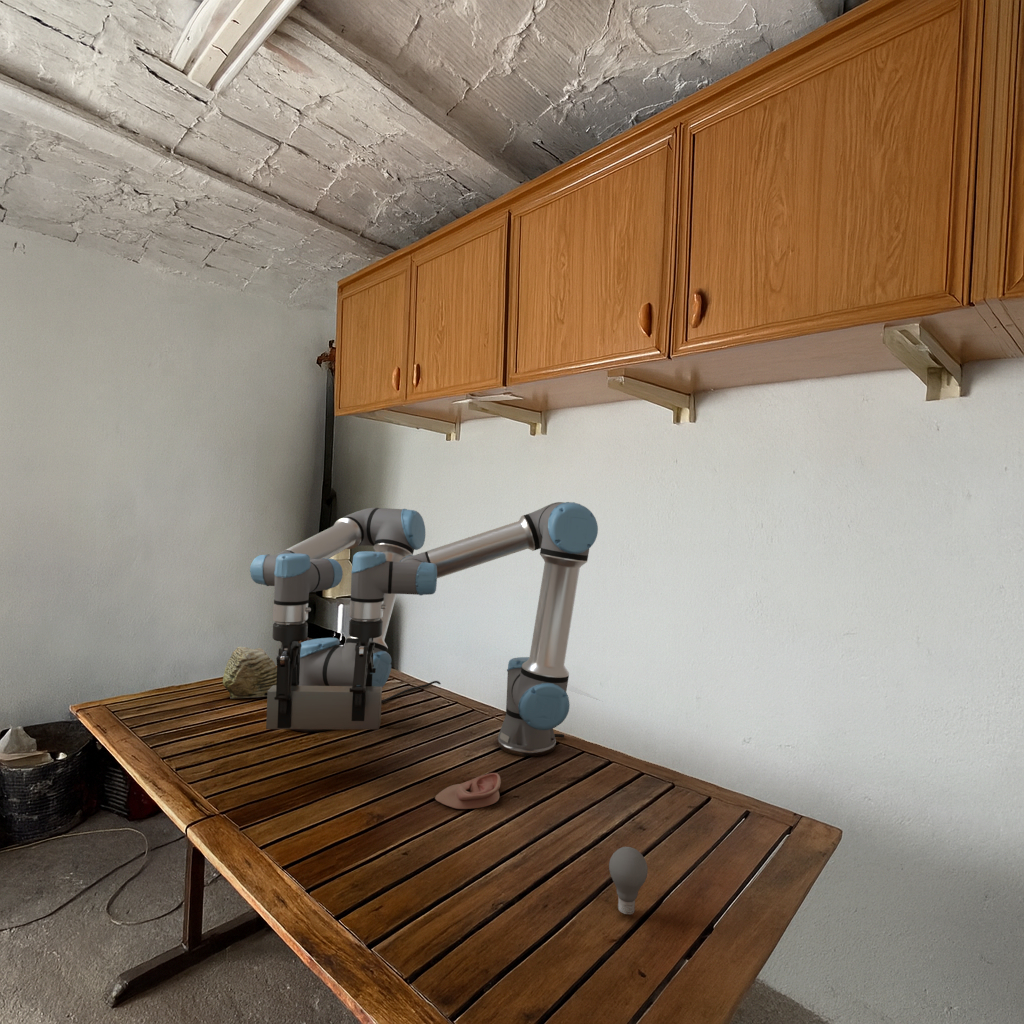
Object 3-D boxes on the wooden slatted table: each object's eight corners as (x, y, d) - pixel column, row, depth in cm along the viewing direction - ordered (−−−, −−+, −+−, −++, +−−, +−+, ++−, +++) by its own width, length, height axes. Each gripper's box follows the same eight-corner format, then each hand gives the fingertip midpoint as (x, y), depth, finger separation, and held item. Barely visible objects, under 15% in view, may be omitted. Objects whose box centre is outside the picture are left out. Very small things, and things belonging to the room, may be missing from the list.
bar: (266, 729, 142) (267, 691, 142) (271, 722, 146) (272, 685, 146) (378, 729, 145) (380, 692, 145) (380, 722, 149) (382, 686, 149)
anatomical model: (430, 786, 132) (447, 764, 143) (430, 805, 132) (446, 781, 143) (492, 795, 129) (504, 771, 140) (492, 814, 129) (504, 789, 140)
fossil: (218, 695, 195) (220, 647, 195) (278, 685, 208) (279, 640, 207) (228, 703, 189) (230, 653, 188) (289, 692, 201) (290, 645, 201)
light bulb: (603, 900, 103) (606, 839, 103) (639, 899, 103) (642, 839, 103) (612, 924, 97) (615, 860, 97) (650, 924, 97) (653, 860, 97)
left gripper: (298, 630, 136) (294, 738, 136) (315, 615, 153) (311, 710, 154) (262, 629, 135) (258, 737, 135) (283, 614, 152) (279, 710, 153)
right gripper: (377, 630, 134) (372, 730, 134) (387, 609, 159) (383, 693, 159) (341, 629, 133) (336, 729, 133) (356, 608, 158) (352, 693, 158)
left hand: (286, 723), depth 145 cm, fingers closed on bar, 4 cm apart
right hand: (361, 710), depth 146 cm, fingers open, 13 cm apart
